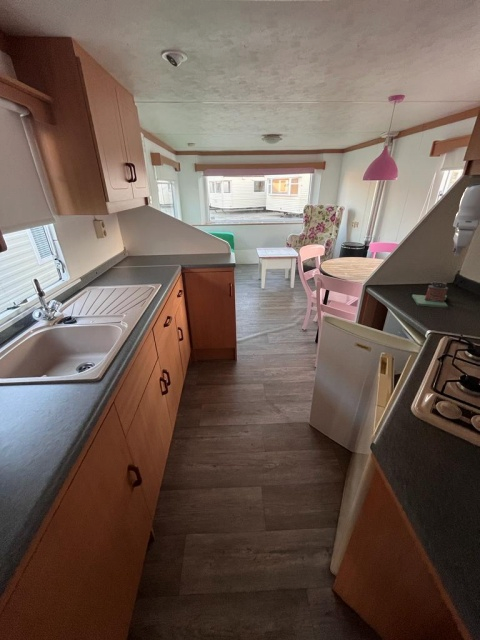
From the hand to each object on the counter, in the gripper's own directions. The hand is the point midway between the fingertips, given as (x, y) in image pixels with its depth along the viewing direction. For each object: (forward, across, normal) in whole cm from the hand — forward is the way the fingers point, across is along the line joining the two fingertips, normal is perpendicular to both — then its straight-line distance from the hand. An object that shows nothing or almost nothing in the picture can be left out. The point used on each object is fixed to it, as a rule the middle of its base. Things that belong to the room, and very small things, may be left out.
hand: (455, 253), depth 125 cm
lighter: (+24, +3, -3) cm, 24 cm away
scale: (+24, +3, -4) cm, 25 cm away
